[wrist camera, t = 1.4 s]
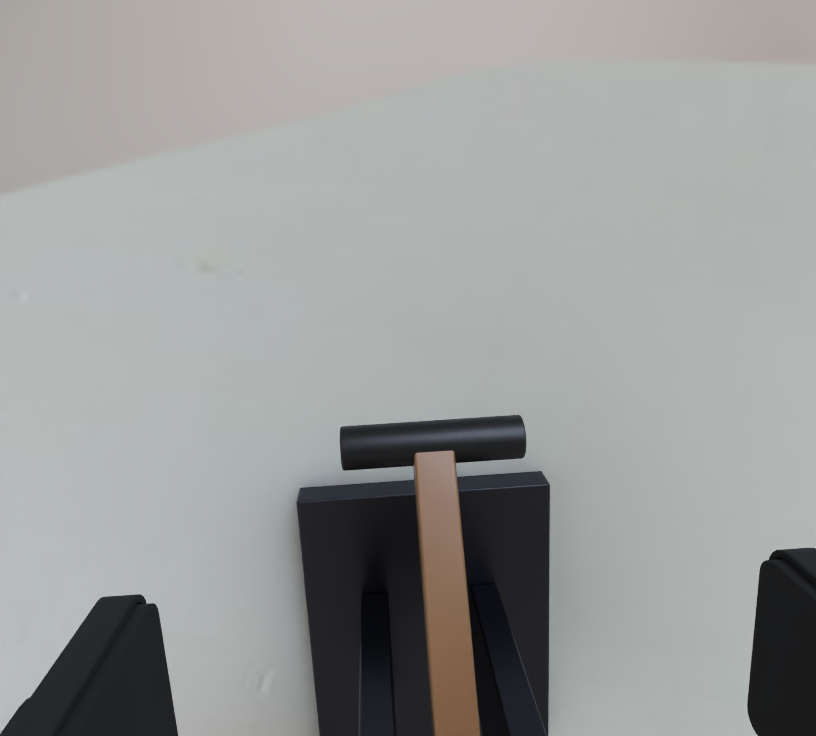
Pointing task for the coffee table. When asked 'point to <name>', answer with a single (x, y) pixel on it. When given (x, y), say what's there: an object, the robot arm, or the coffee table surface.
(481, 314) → the coffee table surface
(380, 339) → the coffee table surface
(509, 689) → the bracket
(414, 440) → the lever
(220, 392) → the coffee table surface
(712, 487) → the coffee table surface
